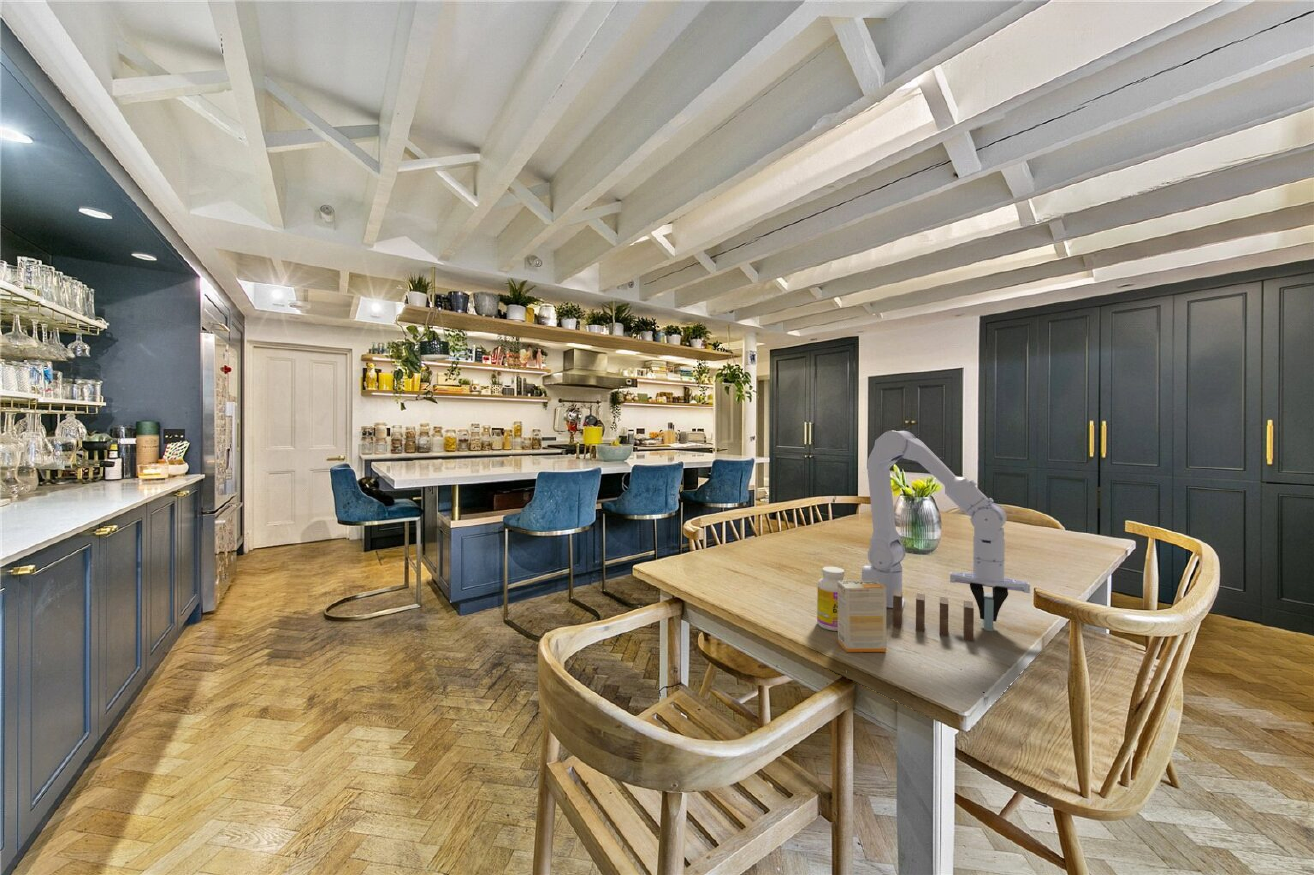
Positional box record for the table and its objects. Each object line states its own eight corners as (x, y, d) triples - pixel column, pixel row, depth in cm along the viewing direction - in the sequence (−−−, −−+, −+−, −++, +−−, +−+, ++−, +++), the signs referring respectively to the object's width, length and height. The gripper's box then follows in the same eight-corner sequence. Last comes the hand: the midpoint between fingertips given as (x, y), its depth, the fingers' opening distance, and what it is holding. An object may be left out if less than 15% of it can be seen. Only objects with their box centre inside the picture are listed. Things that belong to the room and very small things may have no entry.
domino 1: (892, 626, 106) (893, 595, 106) (894, 619, 110) (894, 589, 110) (900, 627, 106) (901, 596, 105) (902, 620, 109) (902, 590, 109)
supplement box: (875, 642, 99) (876, 579, 98) (887, 652, 94) (887, 587, 93) (836, 642, 99) (836, 579, 98) (845, 652, 94) (846, 587, 93)
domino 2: (915, 630, 104) (916, 599, 104) (916, 623, 108) (916, 593, 108) (924, 632, 103) (924, 600, 103) (924, 625, 107) (924, 594, 107)
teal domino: (984, 630, 104) (984, 598, 104) (982, 623, 108) (983, 592, 108) (993, 631, 103) (993, 599, 103) (991, 624, 107) (991, 593, 107)
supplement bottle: (832, 634, 102) (832, 575, 102) (810, 622, 108) (811, 567, 108) (855, 629, 105) (855, 571, 105) (833, 618, 111) (833, 563, 111)
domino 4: (964, 639, 99) (964, 606, 99) (963, 632, 103) (963, 600, 103) (973, 641, 99) (973, 608, 99) (972, 633, 102) (972, 601, 102)
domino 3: (939, 635, 102) (939, 602, 102) (939, 627, 106) (939, 596, 105) (948, 636, 101) (948, 604, 101) (947, 629, 105) (948, 598, 105)
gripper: (950, 558, 106) (950, 618, 106) (1032, 567, 98) (1031, 632, 99) (950, 551, 112) (949, 608, 112) (1027, 559, 104) (1026, 620, 105)
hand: (987, 618), depth 106 cm, fingers closed on teal domino, 2 cm apart
